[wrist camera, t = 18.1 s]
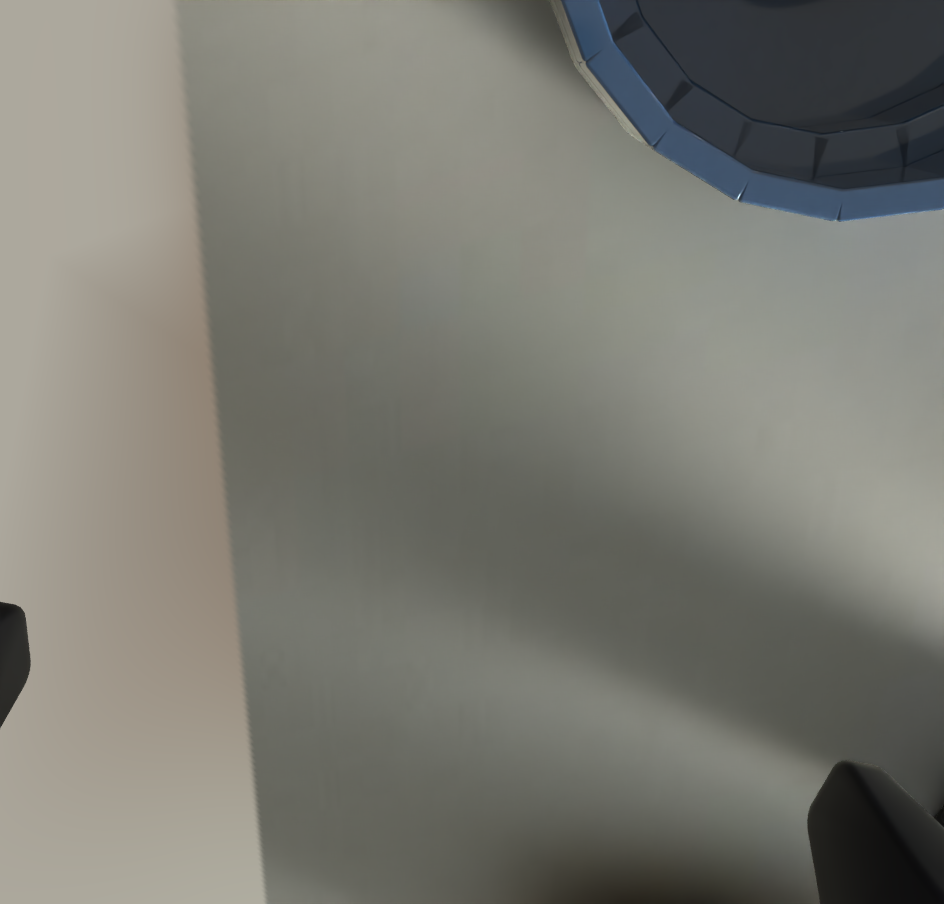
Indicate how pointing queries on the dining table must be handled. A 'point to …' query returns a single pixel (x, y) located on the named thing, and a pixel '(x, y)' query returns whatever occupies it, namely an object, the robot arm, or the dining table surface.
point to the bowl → (778, 95)
